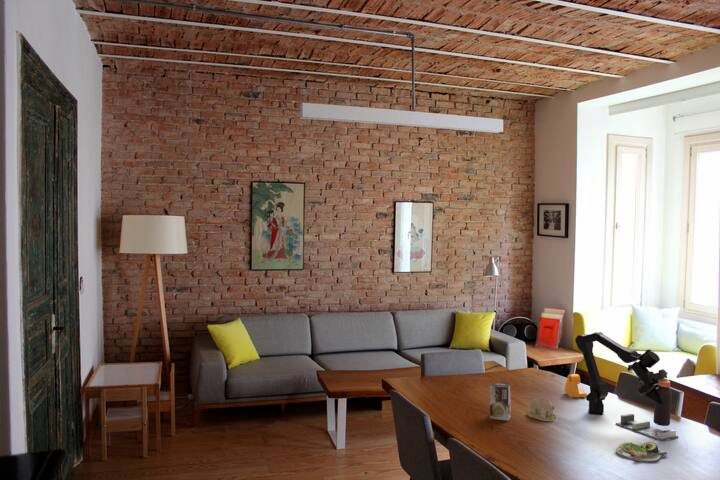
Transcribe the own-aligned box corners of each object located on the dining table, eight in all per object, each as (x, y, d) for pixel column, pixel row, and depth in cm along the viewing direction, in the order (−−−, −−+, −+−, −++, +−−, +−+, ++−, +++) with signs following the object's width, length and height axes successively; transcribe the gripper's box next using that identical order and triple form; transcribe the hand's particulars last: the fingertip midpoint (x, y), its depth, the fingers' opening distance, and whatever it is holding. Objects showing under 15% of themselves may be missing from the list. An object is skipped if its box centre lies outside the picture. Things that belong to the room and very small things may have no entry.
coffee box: (511, 417, 295) (511, 384, 295) (508, 421, 289) (508, 387, 289) (492, 414, 299) (492, 382, 299) (489, 418, 293) (489, 385, 293)
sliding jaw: (619, 423, 285) (619, 415, 285) (633, 420, 289) (633, 413, 288) (635, 429, 276) (635, 421, 276) (649, 426, 280) (650, 419, 280)
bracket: (587, 398, 331) (587, 376, 330) (575, 398, 329) (575, 376, 329) (576, 393, 341) (576, 371, 341) (564, 393, 340) (564, 372, 339)
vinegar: (671, 423, 278) (674, 380, 276) (667, 427, 272) (670, 384, 270) (655, 419, 282) (658, 377, 280) (651, 423, 277) (654, 381, 275)
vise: (615, 424, 285) (615, 417, 285) (632, 421, 290) (633, 415, 290) (660, 441, 263) (660, 433, 263) (678, 437, 267) (678, 430, 267)
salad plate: (656, 469, 233) (656, 457, 233) (608, 457, 244) (608, 446, 244) (669, 455, 248) (669, 444, 248) (623, 444, 259) (624, 434, 259)
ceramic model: (559, 417, 296) (560, 397, 296) (550, 423, 287) (551, 402, 287) (532, 412, 305) (532, 392, 305) (522, 417, 296) (523, 396, 296)
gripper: (644, 366, 273) (668, 396, 265) (666, 361, 284) (689, 390, 276) (627, 380, 280) (650, 409, 271) (649, 374, 291) (671, 403, 282)
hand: (666, 402), depth 275 cm, fingers closed on vinegar, 6 cm apart
